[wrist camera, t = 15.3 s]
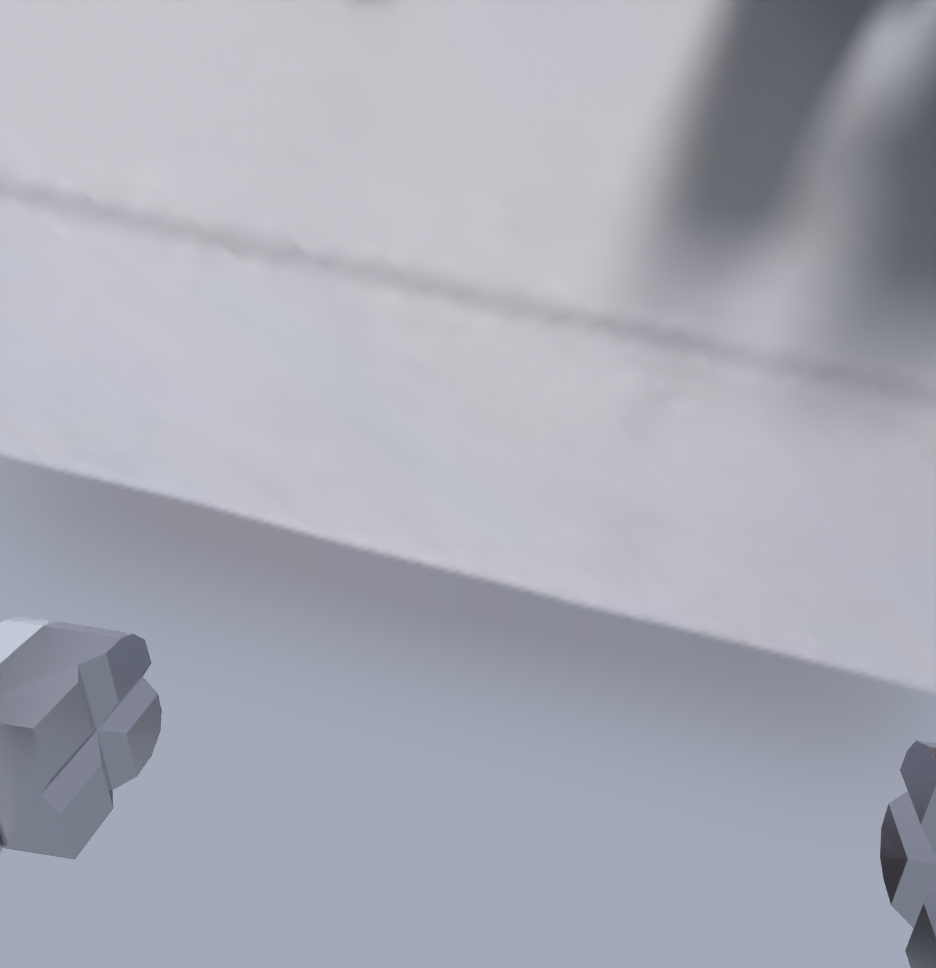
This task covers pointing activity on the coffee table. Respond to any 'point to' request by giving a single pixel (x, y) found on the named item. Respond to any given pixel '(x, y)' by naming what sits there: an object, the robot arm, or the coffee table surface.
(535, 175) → the coffee table surface
